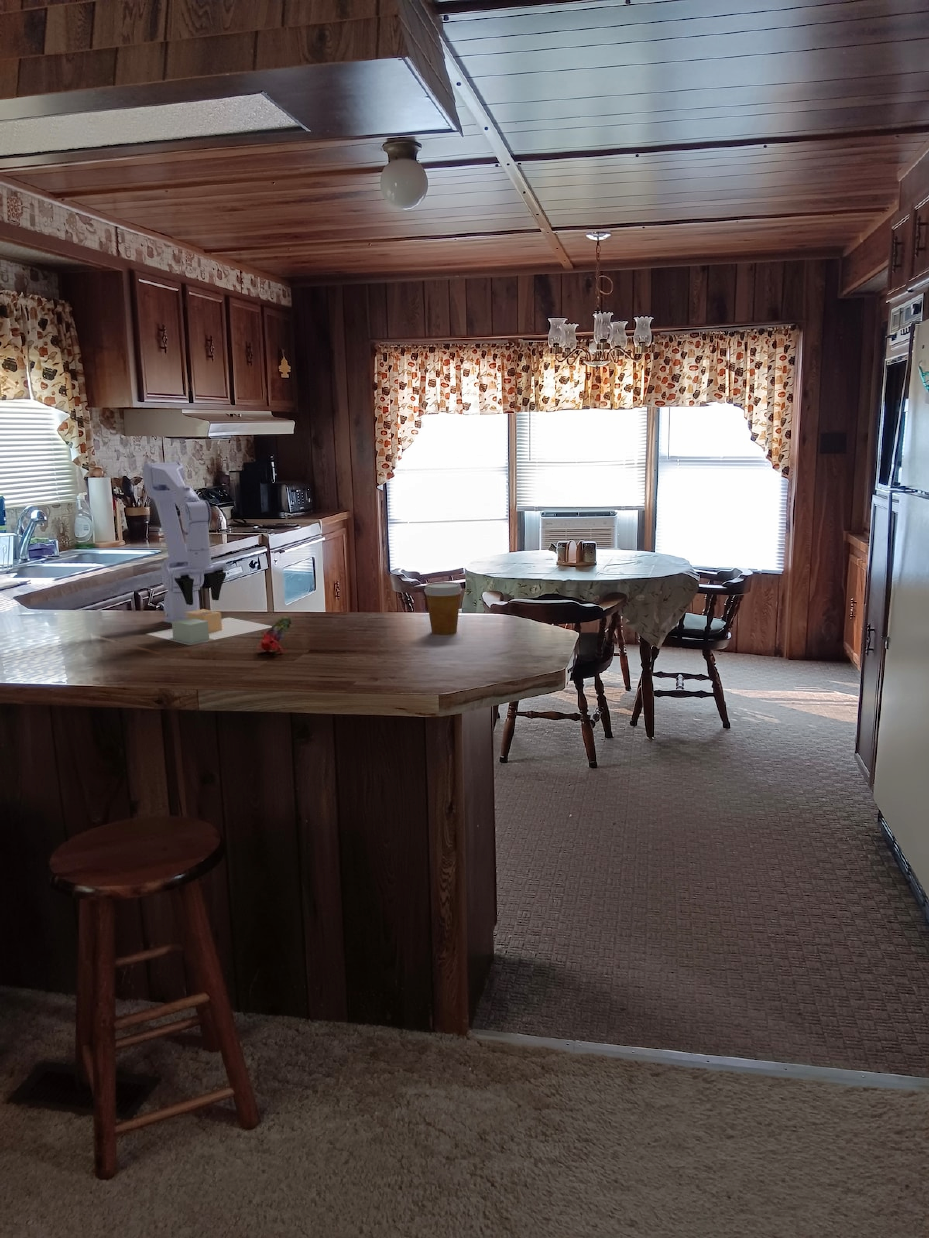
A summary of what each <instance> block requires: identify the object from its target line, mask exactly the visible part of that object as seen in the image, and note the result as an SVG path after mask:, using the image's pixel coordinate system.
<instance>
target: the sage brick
mask: <svg viewBox="0 0 929 1238" xmlns="http://www.w3.org/2000/svg"><path fill="white" fill-rule="evenodd" d="M171 625H172V626H171V629H172V630H173V639H176V640H180V641H184V642H189V643H195V642H200V641H204V640H209V628H208V621H204V620H199V619H194V618H184V619H179V620H174V621H172V623H171Z"/></svg>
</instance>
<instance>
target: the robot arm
mask: <svg viewBox="0 0 929 1238" xmlns="http://www.w3.org/2000/svg"><path fill="white" fill-rule="evenodd" d="M185 473H186V472H185V468H184V465H183V464H182V463H181V461H178V460H177V461H172V462H171V461H170V462H169V461H167V462H166V461H165V462H145V463H144V464H143V466H142V481H143V485H144V489H145V492H146V494H147V497H148V498H150V499H152V500H153V501H154V503H155V507H156V510H157V513H158V517H159V522H160V525H161V530H162V534H163V539H164V542H165V545H166V546H165V547H166V550H167V554H168V556H167V557H166V558H165V559H164V560H163V561H162V562H161V566H160V571H161V582H162V585H163V587H164V588H163V589H165V590H166V591H167V592H166V593H165V595H164V599H163V602H164V603H163V604H164V613H165V620H164V619H163V622H165V623H169V624H172V621H174V620H179V619H184V618H187V615H186V612H190V611H196V610H201V609H200V599H199V591H200V590H201V587H202V586H203V584H204V581H205V576H204V575H205V574H206V575H207V579H208V581H209V586H210V594H211V599H212V601H219V600H220V594H221V590H222V586H223V584H224V580H225V579H226V577H227V568H228V566H227V563H226V562H218V563H212V556H211V555H212V554H211V542H210V532H209V531H210V530H209V524H210V523H211V520H212V508H211V506H210V504H209V502H208V500H206V499H205V500H203V499H200V497H199V496H198V495H197V493H196V491H195V490H194V489H193V488H192V487H191V486H190V485H186V483H185V476H186V475H185ZM176 507H177V508H178V510H179V515H180V516H178V512H177V508H176ZM179 517H180V520H179ZM180 521H181V523H180ZM181 524H182V528H181ZM182 530H183V531H182ZM183 532H185V533H184V534H185V540H184V535H183Z"/></svg>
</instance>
